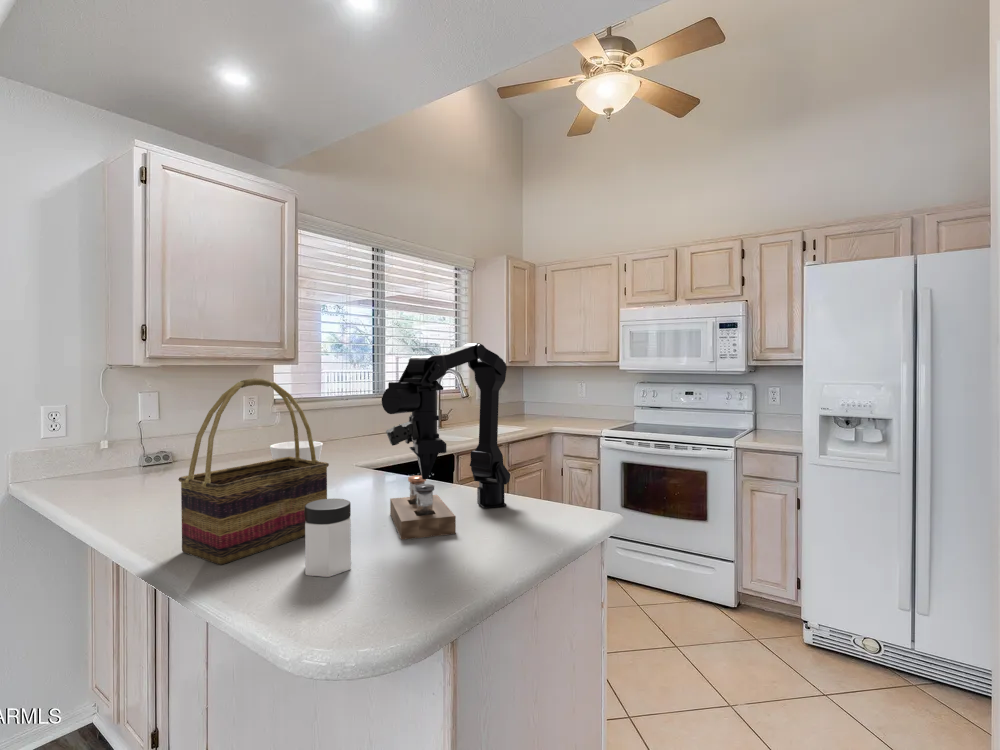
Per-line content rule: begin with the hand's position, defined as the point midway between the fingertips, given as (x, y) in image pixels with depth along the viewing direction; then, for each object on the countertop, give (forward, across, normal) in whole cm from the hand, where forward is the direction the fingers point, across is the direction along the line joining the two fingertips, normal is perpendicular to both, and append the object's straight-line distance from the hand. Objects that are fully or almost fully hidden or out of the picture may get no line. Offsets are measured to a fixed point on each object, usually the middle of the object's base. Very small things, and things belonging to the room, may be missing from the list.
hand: (424, 478), depth 116 cm
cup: (+12, -36, -29) cm, 48 cm away
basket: (+12, -5, -35) cm, 37 cm away
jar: (+12, +16, -21) cm, 29 cm away
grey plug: (+8, 0, 0) cm, 8 cm away
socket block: (+12, -5, 0) cm, 13 cm away
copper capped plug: (+8, -10, 0) cm, 13 cm away
